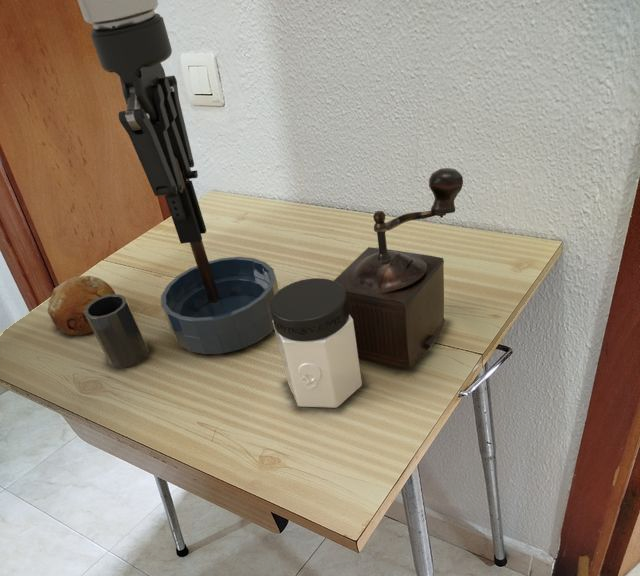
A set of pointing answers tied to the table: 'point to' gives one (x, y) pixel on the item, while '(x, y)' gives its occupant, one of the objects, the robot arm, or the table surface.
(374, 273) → the manual coffee grinder
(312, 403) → the jar
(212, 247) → the table surface
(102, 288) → the bread roll
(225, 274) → the bowl
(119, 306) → the holder
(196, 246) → the stick
